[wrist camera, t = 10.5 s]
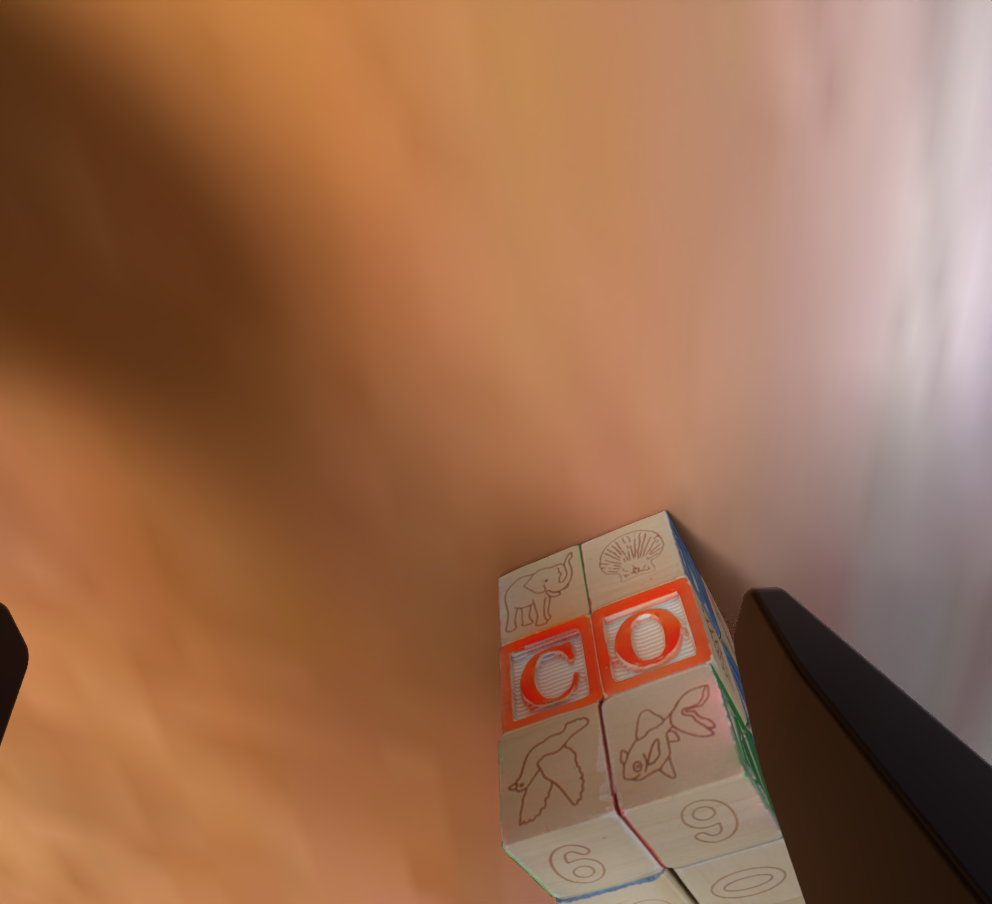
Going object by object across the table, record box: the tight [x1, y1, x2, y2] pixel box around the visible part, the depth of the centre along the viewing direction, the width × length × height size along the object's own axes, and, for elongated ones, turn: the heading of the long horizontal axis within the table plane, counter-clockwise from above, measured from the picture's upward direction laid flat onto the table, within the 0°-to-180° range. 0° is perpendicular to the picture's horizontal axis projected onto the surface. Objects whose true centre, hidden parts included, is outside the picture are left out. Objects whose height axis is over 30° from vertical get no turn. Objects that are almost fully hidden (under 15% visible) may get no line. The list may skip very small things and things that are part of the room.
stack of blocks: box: [498, 511, 805, 904], centre depth 25 cm, size 21×6×12 cm, turn 28°
